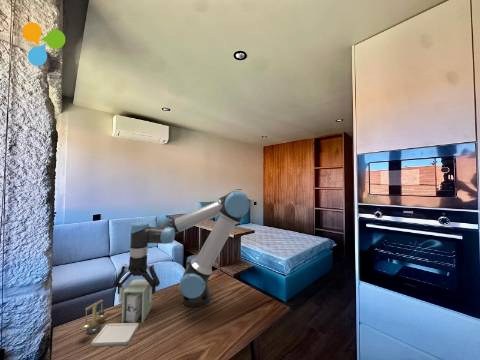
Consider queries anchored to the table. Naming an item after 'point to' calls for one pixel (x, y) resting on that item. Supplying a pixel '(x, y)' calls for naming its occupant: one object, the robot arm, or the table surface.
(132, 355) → the table surface
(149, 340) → the table surface
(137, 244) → the robot arm
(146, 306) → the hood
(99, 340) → the dish
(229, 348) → the table surface
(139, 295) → the ink box
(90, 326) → the balance
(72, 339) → the table surface
